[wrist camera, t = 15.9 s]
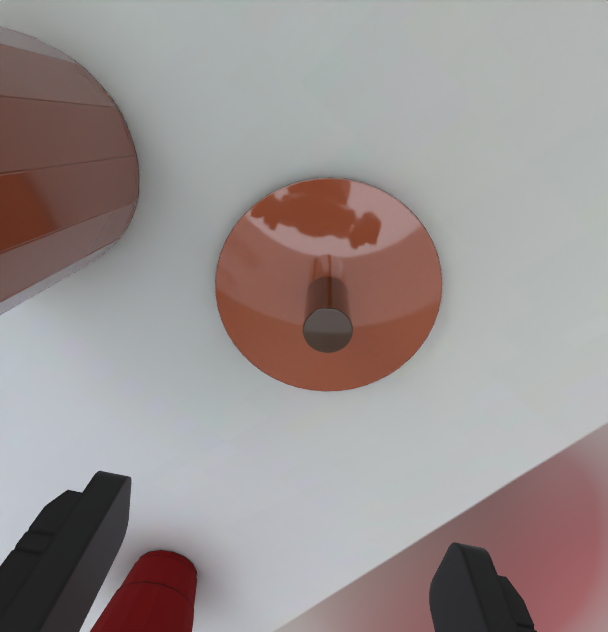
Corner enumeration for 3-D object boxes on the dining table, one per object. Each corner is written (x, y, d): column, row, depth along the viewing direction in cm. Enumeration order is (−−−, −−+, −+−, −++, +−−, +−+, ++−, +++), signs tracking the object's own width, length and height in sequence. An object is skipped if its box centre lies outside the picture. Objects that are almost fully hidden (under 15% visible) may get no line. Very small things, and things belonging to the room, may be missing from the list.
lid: (187, 210, 26) (149, 233, 20) (418, 147, 24) (448, 152, 18) (256, 398, 31) (241, 458, 26) (450, 359, 29) (481, 415, 24)
